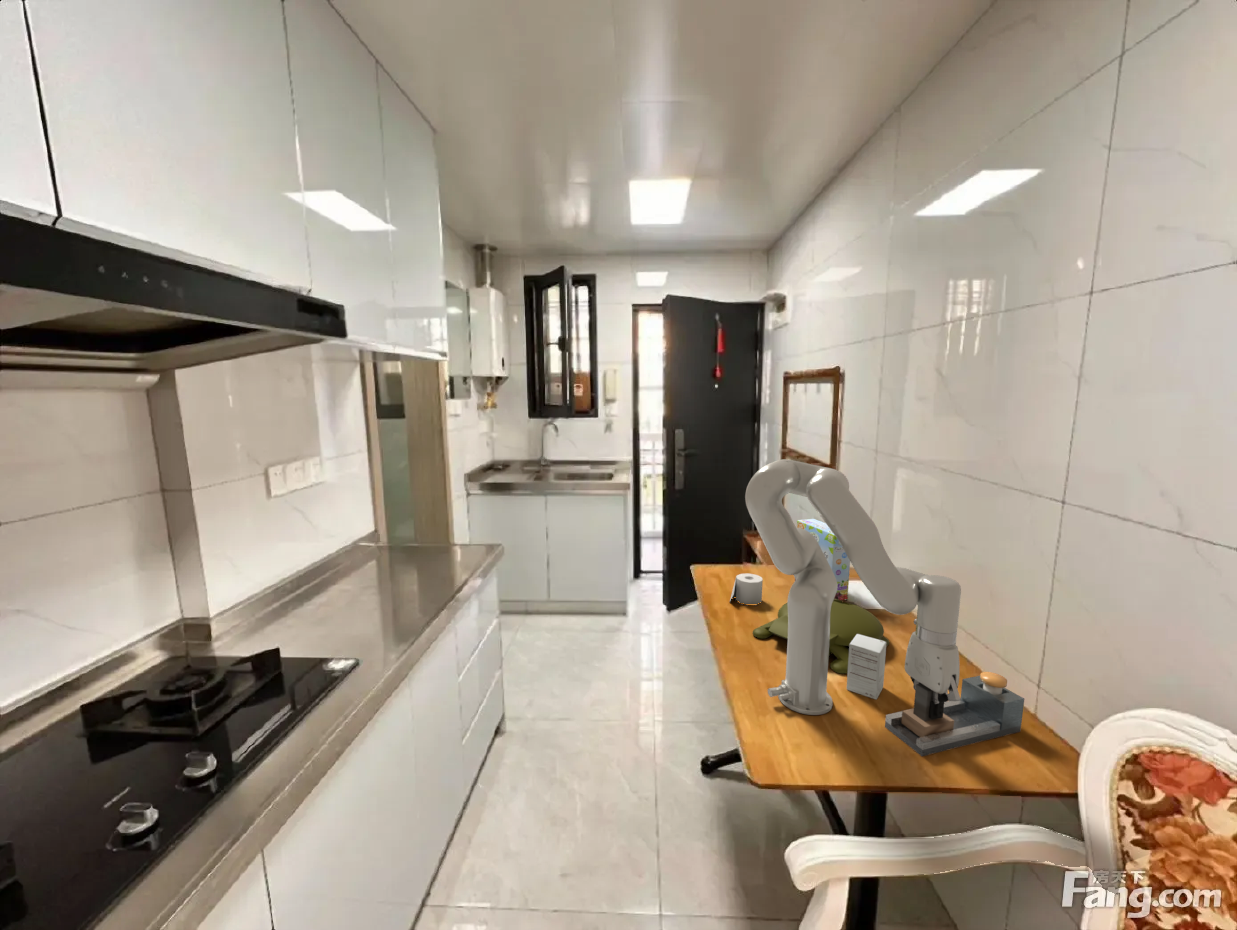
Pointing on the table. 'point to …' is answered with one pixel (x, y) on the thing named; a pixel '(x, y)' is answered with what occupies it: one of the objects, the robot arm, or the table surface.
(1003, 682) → the button
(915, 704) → the block
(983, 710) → the rail base
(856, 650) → the supplement box
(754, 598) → the toilet tissue
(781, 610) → the green toy turtle
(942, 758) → the table surface
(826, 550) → the snack box
